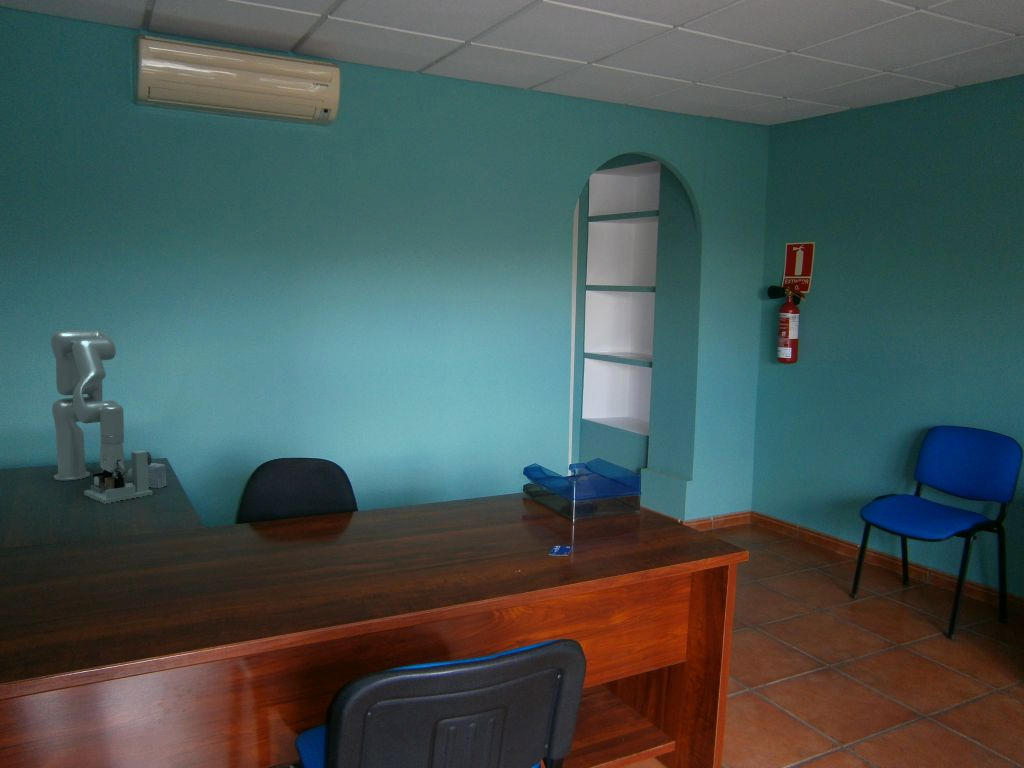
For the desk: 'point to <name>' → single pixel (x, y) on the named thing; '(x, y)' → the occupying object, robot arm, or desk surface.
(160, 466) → the medicine box
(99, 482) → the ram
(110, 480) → the block
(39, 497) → the desk surface
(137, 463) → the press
